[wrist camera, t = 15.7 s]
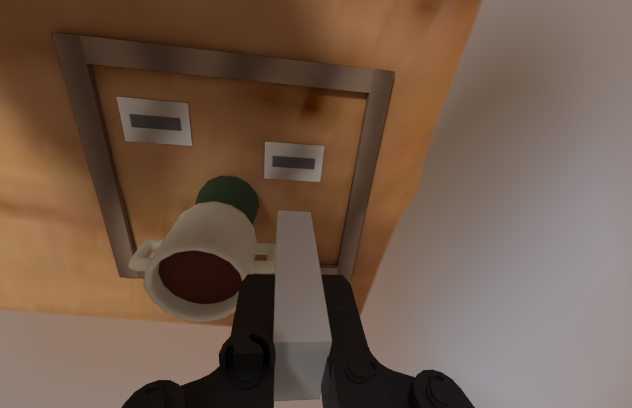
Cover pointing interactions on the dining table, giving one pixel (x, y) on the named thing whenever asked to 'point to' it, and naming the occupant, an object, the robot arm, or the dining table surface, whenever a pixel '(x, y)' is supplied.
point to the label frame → (174, 128)
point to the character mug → (206, 254)
